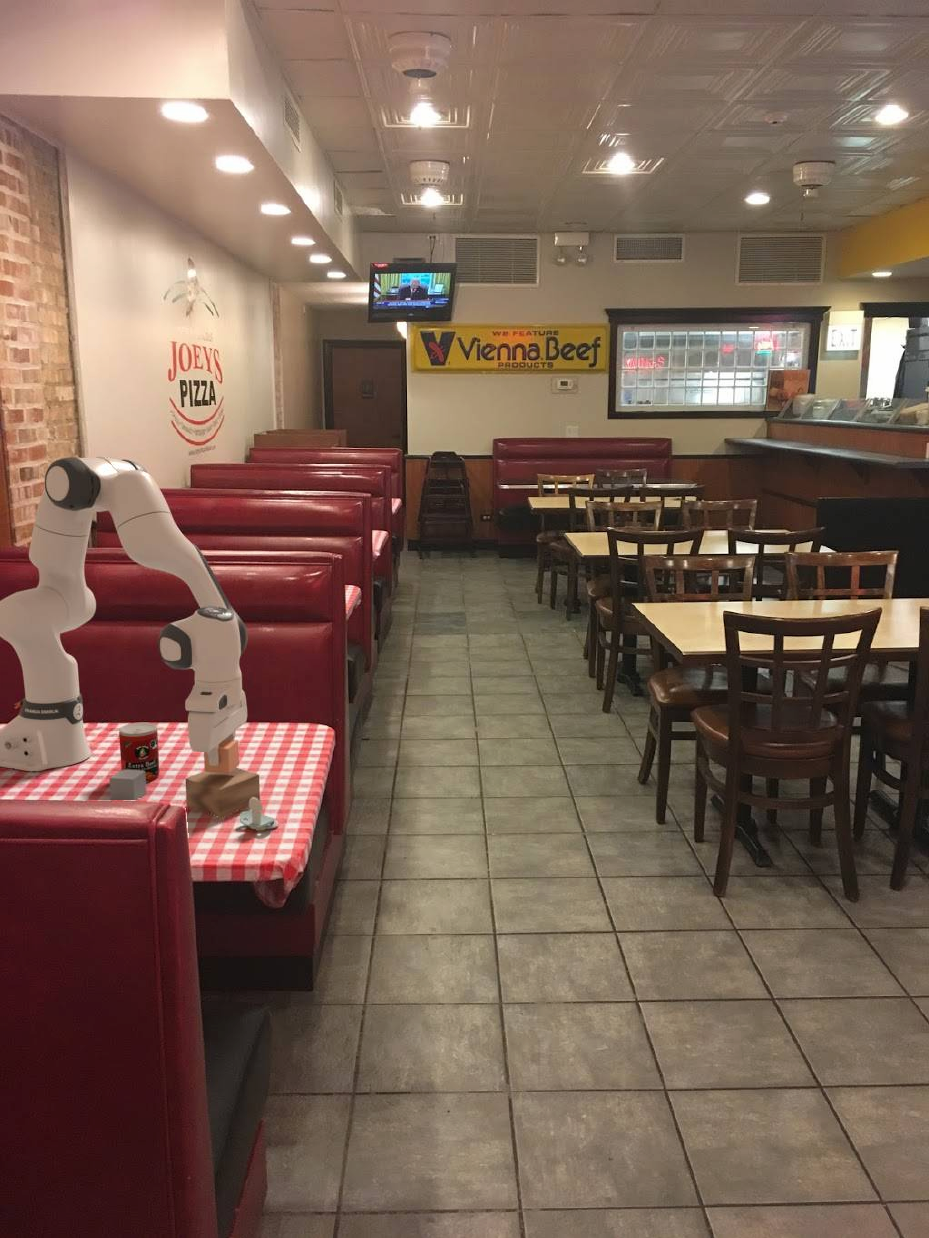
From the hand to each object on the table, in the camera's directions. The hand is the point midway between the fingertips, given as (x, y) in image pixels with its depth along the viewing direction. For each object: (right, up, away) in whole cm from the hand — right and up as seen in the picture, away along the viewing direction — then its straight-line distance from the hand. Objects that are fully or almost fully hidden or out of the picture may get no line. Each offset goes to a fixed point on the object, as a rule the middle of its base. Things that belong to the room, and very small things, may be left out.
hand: (221, 758), depth 186 cm
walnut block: (0, -9, +2) cm, 10 cm away
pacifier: (+10, -12, -8) cm, 17 cm away
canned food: (-21, -6, +16) cm, 27 cm away
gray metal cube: (-20, -9, +5) cm, 22 cm away
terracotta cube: (0, -2, 0) cm, 2 cm away
